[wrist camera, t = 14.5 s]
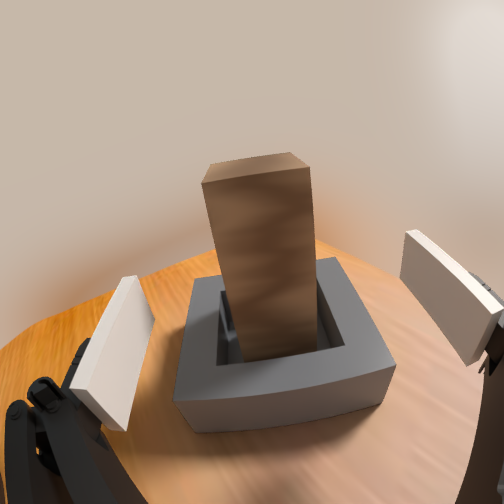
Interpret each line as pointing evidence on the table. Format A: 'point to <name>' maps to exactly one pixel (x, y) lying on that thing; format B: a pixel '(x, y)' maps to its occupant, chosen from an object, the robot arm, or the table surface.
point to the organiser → (280, 363)
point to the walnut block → (266, 252)
